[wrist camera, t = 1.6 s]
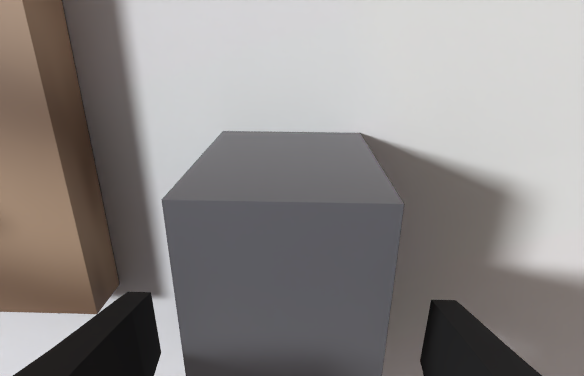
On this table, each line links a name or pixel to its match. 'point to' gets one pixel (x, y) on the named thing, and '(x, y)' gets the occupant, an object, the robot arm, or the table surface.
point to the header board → (47, 172)
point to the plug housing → (283, 256)
